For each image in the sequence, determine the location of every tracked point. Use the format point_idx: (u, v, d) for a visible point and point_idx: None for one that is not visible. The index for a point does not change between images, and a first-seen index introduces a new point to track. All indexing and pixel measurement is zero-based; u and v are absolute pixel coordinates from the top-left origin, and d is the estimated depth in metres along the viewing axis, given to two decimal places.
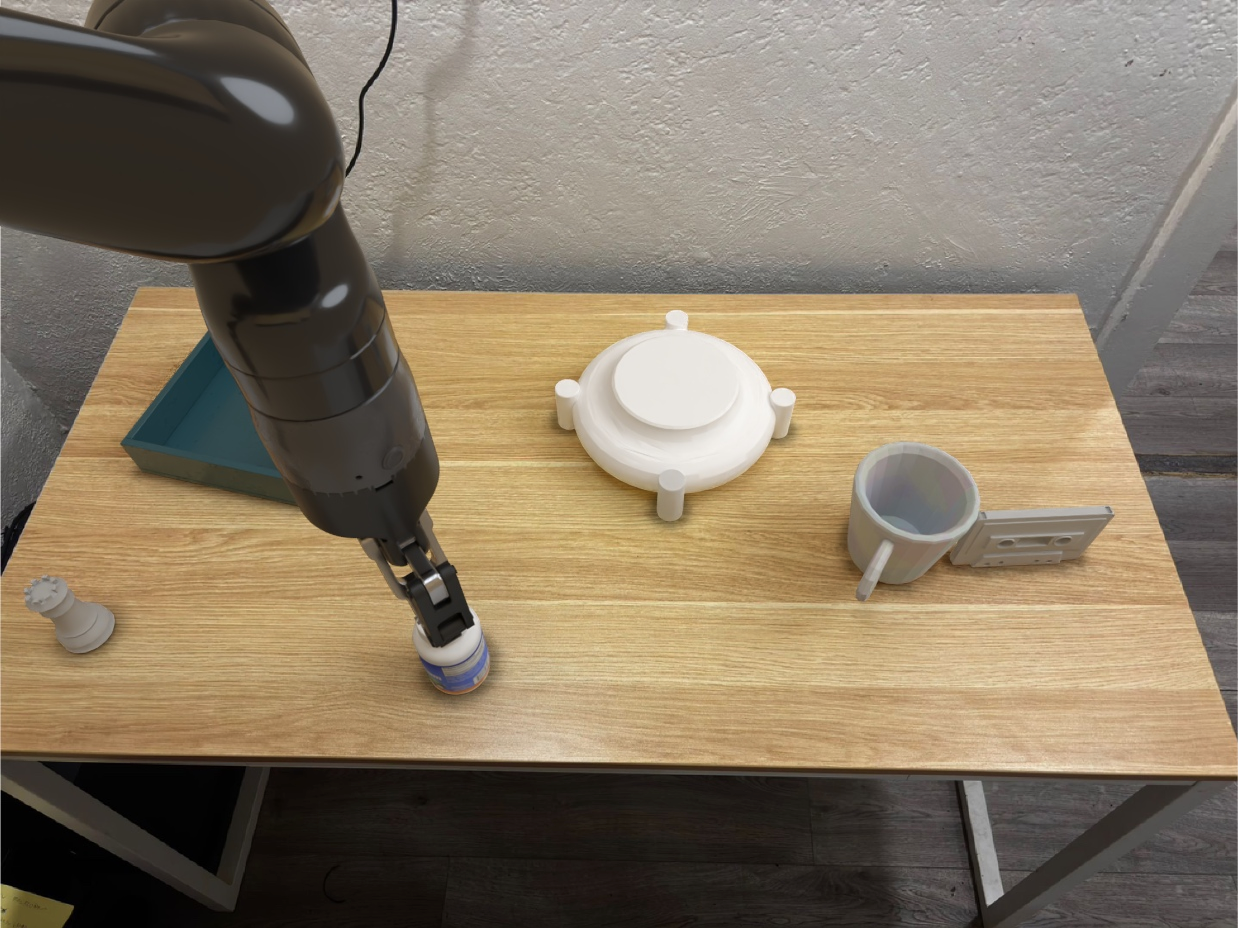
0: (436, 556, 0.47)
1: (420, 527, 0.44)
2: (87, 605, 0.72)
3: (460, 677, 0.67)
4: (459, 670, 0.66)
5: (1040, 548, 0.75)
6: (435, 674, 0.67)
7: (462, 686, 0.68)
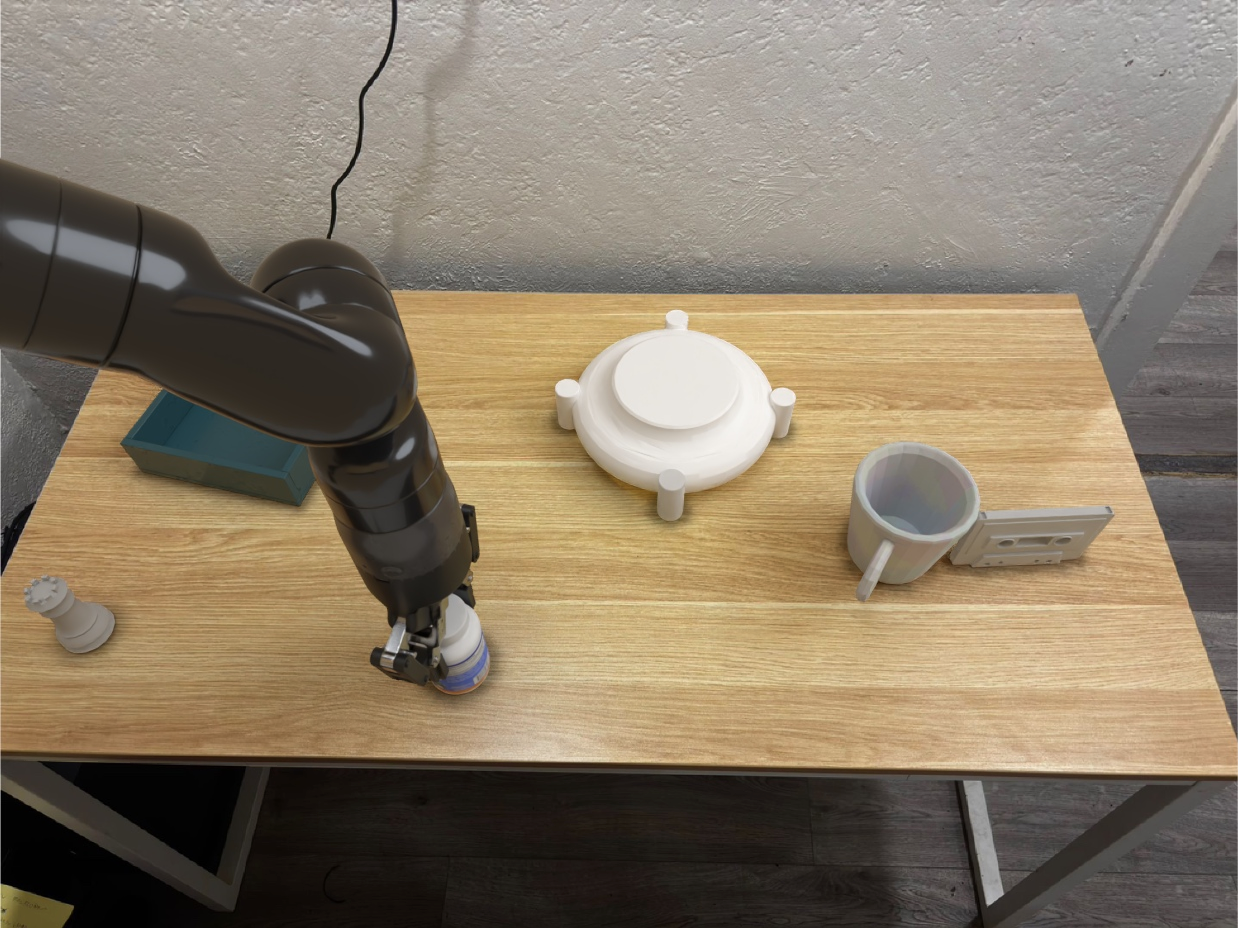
0: (433, 634, 0.59)
1: (413, 616, 0.56)
2: (87, 605, 0.72)
3: (461, 677, 0.67)
4: (459, 670, 0.66)
5: (1040, 548, 0.75)
6: None
7: (462, 686, 0.68)
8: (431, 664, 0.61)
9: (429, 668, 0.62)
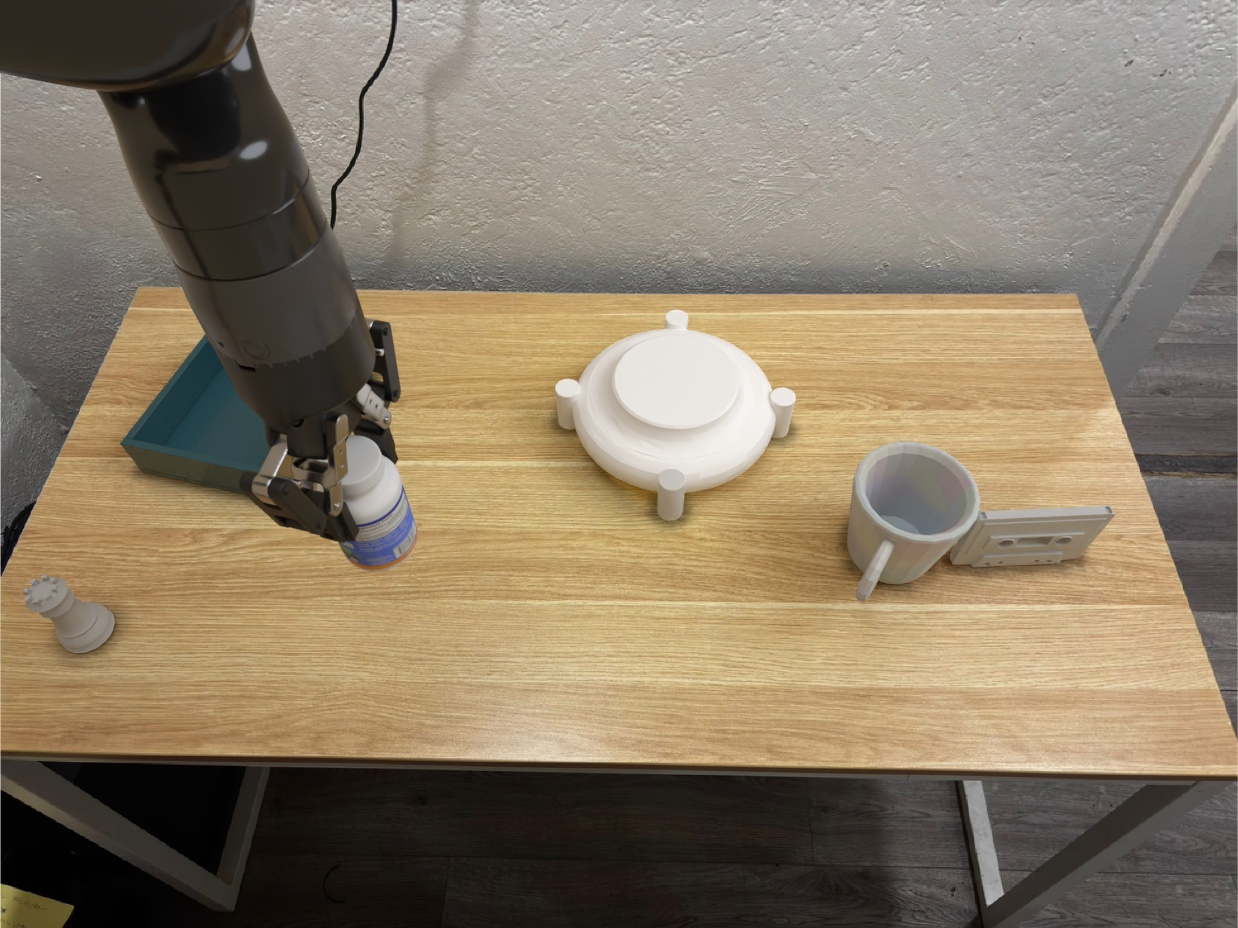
0: (329, 468, 0.48)
1: (296, 431, 0.44)
2: (87, 605, 0.72)
3: (376, 544, 0.55)
4: (373, 532, 0.54)
5: (1040, 548, 0.75)
6: None
7: (380, 558, 0.57)
8: (329, 510, 0.49)
9: (328, 518, 0.50)
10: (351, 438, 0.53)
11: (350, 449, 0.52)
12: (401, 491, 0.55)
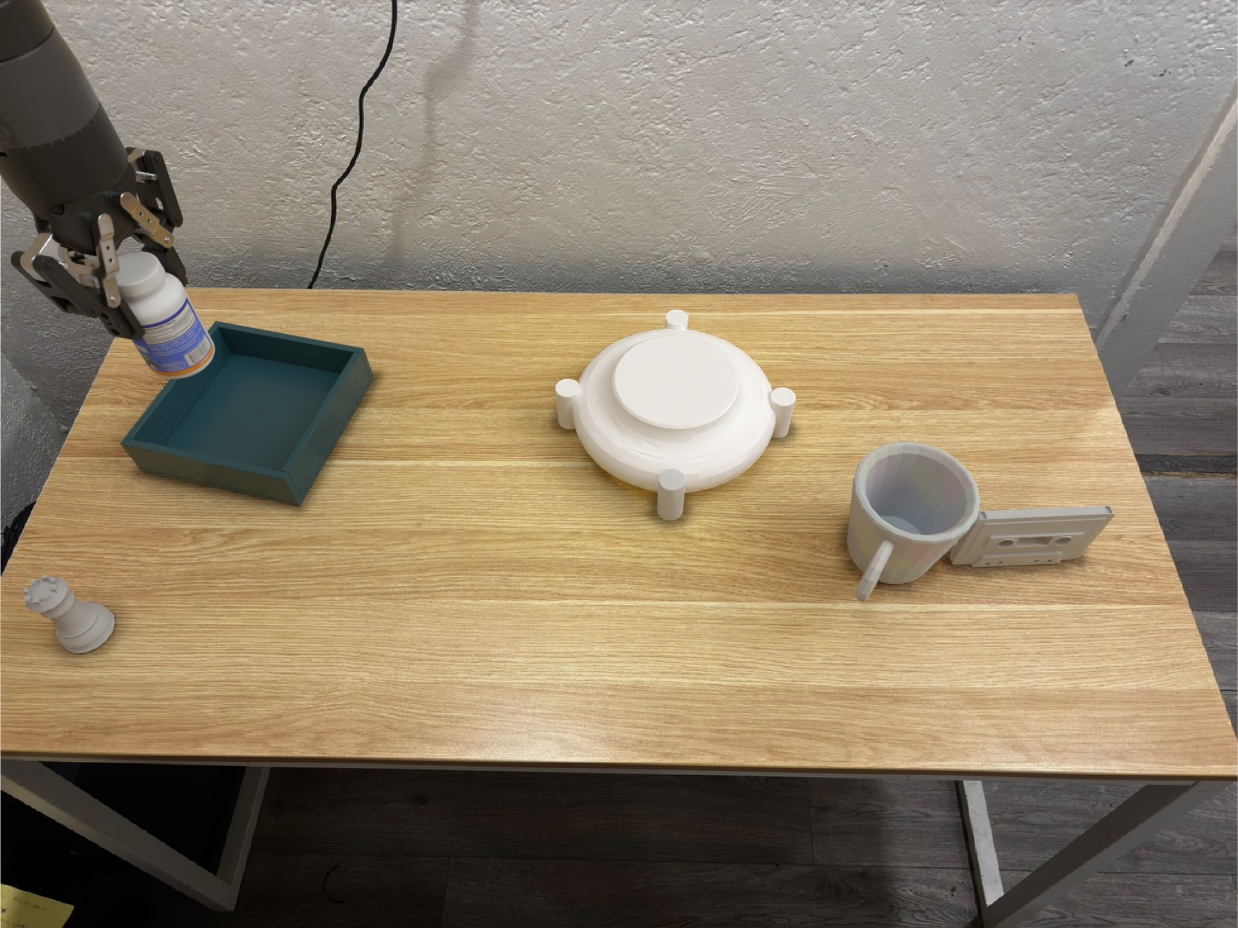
0: (99, 261, 0.59)
1: (57, 218, 0.55)
2: (87, 605, 0.72)
3: (166, 348, 0.66)
4: (160, 335, 0.65)
5: (1040, 548, 0.75)
6: (139, 343, 0.66)
7: (173, 364, 0.68)
8: (106, 301, 0.60)
9: (108, 310, 0.61)
10: (136, 253, 0.64)
11: (133, 260, 0.63)
12: (184, 302, 0.66)
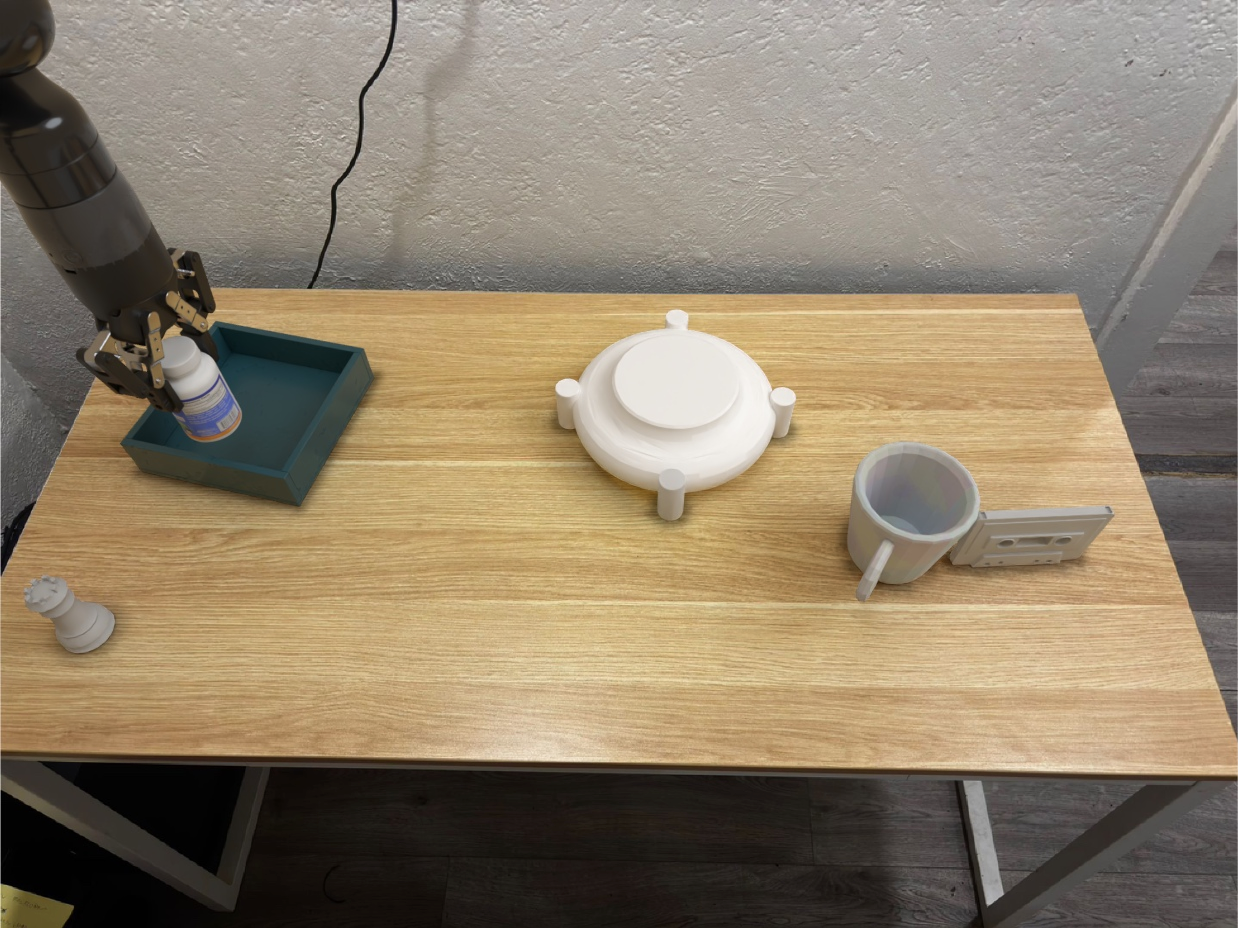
0: (148, 351, 0.68)
1: (114, 319, 0.65)
2: (87, 605, 0.72)
3: (201, 417, 0.76)
4: (196, 407, 0.75)
5: (1040, 548, 0.75)
6: (177, 414, 0.76)
7: (207, 430, 0.77)
8: (152, 383, 0.70)
9: (153, 390, 0.71)
10: (176, 337, 0.74)
11: (174, 344, 0.73)
12: (217, 378, 0.75)
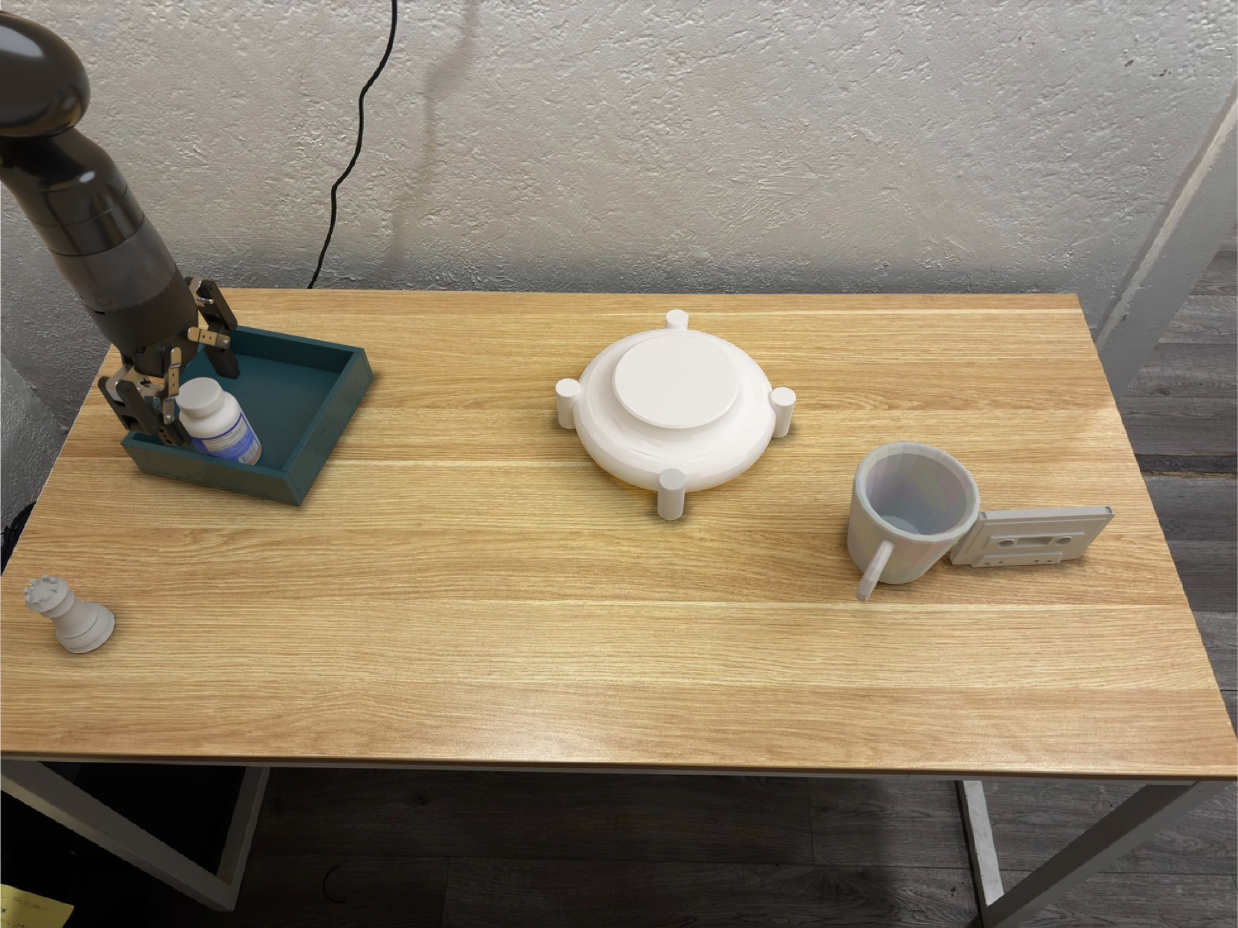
0: (164, 384, 0.71)
1: (140, 356, 0.68)
2: (87, 605, 0.72)
3: (224, 453, 0.80)
4: (219, 444, 0.79)
5: (1040, 548, 0.75)
6: (201, 450, 0.80)
7: None
8: (162, 420, 0.72)
9: (163, 426, 0.73)
10: (201, 379, 0.78)
11: (199, 386, 0.77)
12: (239, 416, 0.80)
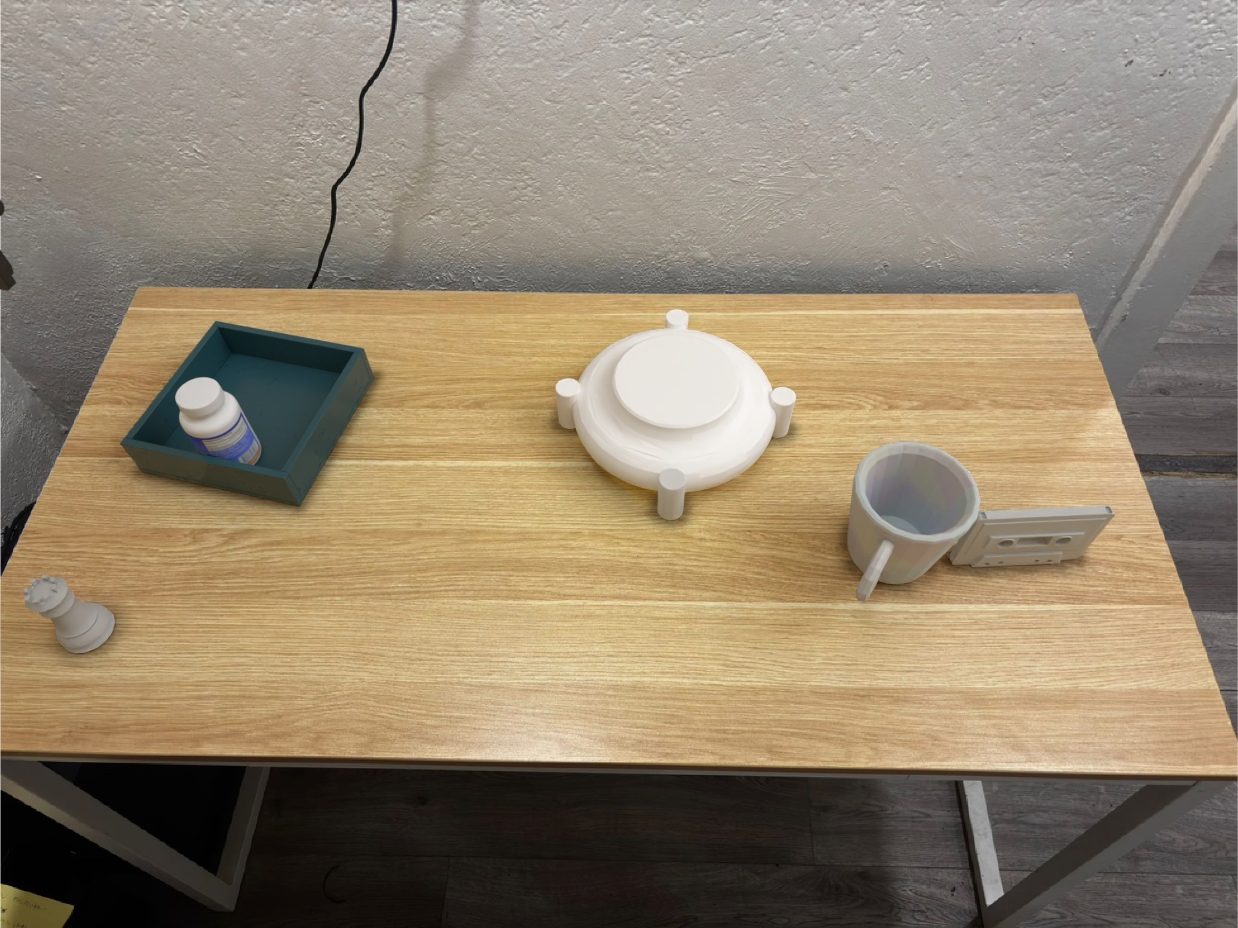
0: None
1: None
2: (87, 605, 0.72)
3: (224, 453, 0.80)
4: (219, 444, 0.79)
5: (1040, 548, 0.75)
6: (201, 450, 0.80)
7: None
8: None
9: None
10: (201, 379, 0.78)
11: (199, 386, 0.77)
12: (239, 416, 0.80)
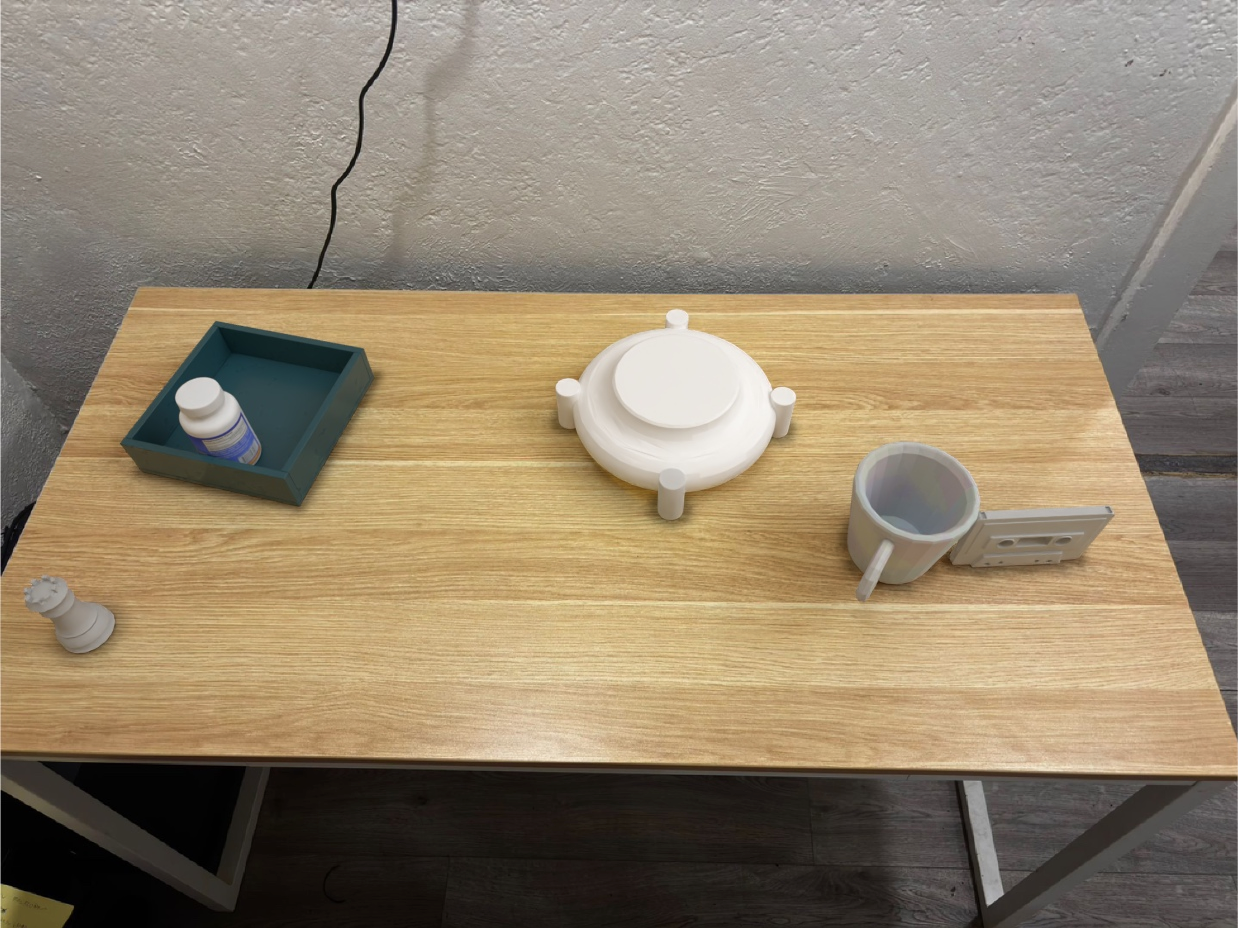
0: None
1: None
2: (87, 605, 0.72)
3: (224, 453, 0.80)
4: (219, 444, 0.79)
5: (1040, 548, 0.75)
6: (201, 450, 0.80)
7: None
8: None
9: None
10: (201, 379, 0.78)
11: (199, 386, 0.77)
12: (239, 416, 0.80)
